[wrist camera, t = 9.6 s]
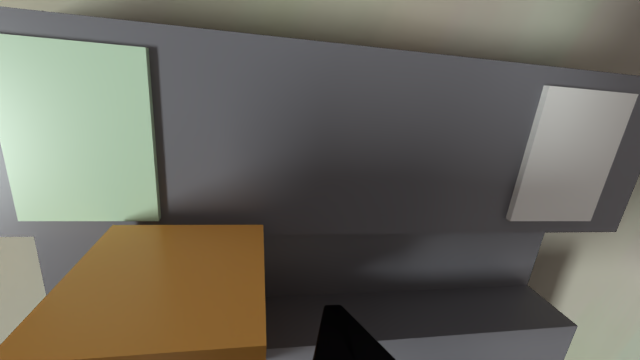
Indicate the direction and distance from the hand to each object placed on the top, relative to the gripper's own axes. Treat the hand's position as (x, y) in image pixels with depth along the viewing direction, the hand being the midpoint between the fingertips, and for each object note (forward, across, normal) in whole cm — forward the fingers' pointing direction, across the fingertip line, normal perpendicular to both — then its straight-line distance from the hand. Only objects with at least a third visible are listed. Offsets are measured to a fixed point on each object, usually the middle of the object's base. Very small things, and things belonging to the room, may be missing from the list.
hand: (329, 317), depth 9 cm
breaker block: (+5, 0, 0) cm, 5 cm away
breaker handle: (+3, +4, 0) cm, 5 cm away
